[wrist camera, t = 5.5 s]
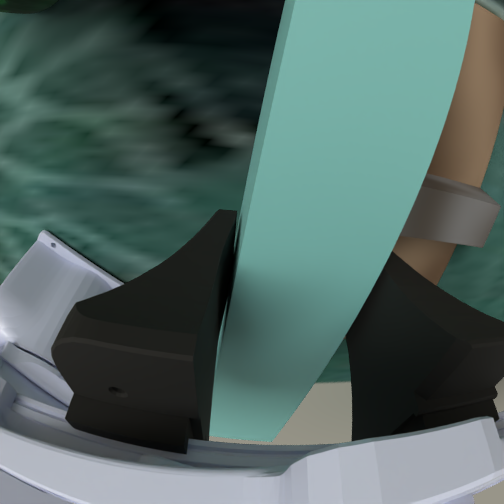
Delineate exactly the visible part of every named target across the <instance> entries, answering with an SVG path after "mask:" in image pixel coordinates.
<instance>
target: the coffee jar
mask: <svg viewBox="0 0 504 504" xmlns="http://www.w3.org/2000/svg"><path fill="white" fill-rule="evenodd" d="M57 1H58V0H0V12H8V13H22V14H32V13H37V12H40V11H43V10H45V9H47V8H49V7H50V6H52V5H53V4H55V3H56V2H57Z"/></svg>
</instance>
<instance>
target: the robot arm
mask: <svg viewBox="0 0 504 504" xmlns="http://www.w3.org/2000/svg"><path fill="white" fill-rule="evenodd" d="M236 217H237V211H232V210H220V209H219V210H218V211H217V212H216V213H215V214H214V215H213V216H212V218H211V219H210V220H209V221H208V222H207V223H206V224H205V226H204V227H203V228H202V229H201V230H200V231H199V232H198V233H197V234H196V235H195V236H194V237H193V238H192V239H191V240H190V241H188V242H187V243H186V244H185V245H184V246H183V247H182V248H181V249H179V250H178V251H177V252H176V253H175V254H173V255H172V256H171V257H169V258H168V259H167V260H165V261H164V262H162V263H161V264H159V265H158V266H156V267H154V268H153V269H151V270H149V271H147V272H146V273H144V274H142V275H141V276H139V277H137V278H135V279H133V280H131V281H129V282H127V283H125V284H124V283H122V282H121V281H119V280H117V279H116V278H114V277H113V276H111V275H110V274H108V273H107V272H105V271H104V270H102V269H101V268H99V267H98V266H96V265H95V264H93V263H92V262H90V261H89V260H87V259H86V258H84V257H83V256H81V255H80V254H78V253H77V252H76V251H74V250H73V249H71V248H70V247H68V246H67V245H66V244H64V243H63V242H61V241H60V240H59V239H57V238H56V237H55V236H53V235H52V234H50V233H49V232H48V231H46V230H43V231H42V232H41V233H40V234H39V237H38V240H37V241H36V242H35V243H34V244H33V246H32V247H31V248H30V249H29V250H28V252H27V253H26V254H25V255H24V256H23V258H22V259H21V260H20V261H19V262H18V264H17V265H16V266H15V267H14V269H13V270H12V271H11V273H10V274H9V275H8V276H7V278H6V279H5V280H4V282H3V283H2V284H1V286H0V504H73V503H74V504H474V499H473V495H474V494H477V493H479V492H481V491H483V490H485V489H487V488H489V487H491V486H493V485H495V484H497V483H499V482H501V481H503V480H504V411H502V412H499V413H498V412H497V410H496V407H495V404H494V401H493V399H495V398H496V397H497V394H498V393H497V391H496V389H495V385H496V384H497V383H498V382H499V381H500V380H501V379H502V378H503V377H504V322H503V321H500V320H498V319H496V318H493V317H491V316H488V315H486V314H484V313H482V312H480V311H478V310H476V309H474V308H472V307H470V306H469V305H467V304H465V303H463V302H461V301H460V300H458V299H456V298H455V297H453V296H452V295H450V294H448V293H447V292H445V291H444V290H442V289H440V288H439V287H437V286H436V285H435V284H433V283H432V282H430V281H429V280H428V279H426V278H425V277H423V276H422V275H421V274H419V273H418V272H417V271H416V270H414V269H413V268H412V267H411V266H410V265H408V264H407V263H406V262H405V261H403V260H402V259H401V258H400V257H399V256H398V255H396V254H395V253H394V252H393V251H392V252H391V254H390V256H389V258H388V260H387V262H386V263H385V265H384V267H383V269H382V271H381V273H380V275H379V277H378V279H377V281H376V283H375V284H374V286H373V288H372V290H371V292H370V294H369V295H368V297H367V299H366V301H365V303H364V304H363V306H362V308H361V310H360V311H359V313H358V315H357V317H356V318H355V320H354V322H353V323H352V325H351V327H350V329H349V330H348V332H347V334H346V335H345V336H346V341H347V346H348V352H349V362H350V372H351V386H352V441H351V442H345V443H339V444H322V445H255V444H237V443H224V442H213V441H209V432H210V419H211V408H212V397H213V386H214V376H215V366H216V357H217V347H218V340H219V334H220V329H221V325H222V320H223V316H224V311H225V307H226V303H227V298H228V293H229V286H230V280H231V273H232V265H233V257H234V244H235V231H236ZM54 243H55V244H56V245H55V244H54Z"/></svg>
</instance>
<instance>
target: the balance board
mask: <svg viewBox="0 0 504 504" xmlns="http://www.w3.org/2000/svg"><path fill="white" fill-rule="evenodd" d="M503 108H504V21H503V20H502V19H500V18H499V17H497V16H496V15H494V14H493V13H491V12H489V11H488V10H486V9H485V8H483V7H481V6H480V5H478V4H476V3H474V8H473V14H472V20H471V25H470V30H469V35H468V40H467V45H466V49H465V53H464V58H463V62H462V66H461V70H460V73H459V77H458V81H457V84H456V88H455V92H454V95H453V98H452V102H451V105H450V108H449V111H448V114H447V118H446V121H445V124H444V127H443V130H442V133H441V135H440V138H439V141H438V144H437V147H436V149H435V152H434V155H433V157H432V160H431V163H430V165H429V168H428V170H427V173H426V176H425V178H424V180H423V183H422V185H421V188H420V190H419V193H418V195H417V197H416V200H415V202H414V204H413V207H412V209H411V211H410V213H409V216H408V218H407V220H406V222H405V224H404V227H403V229H402V231H401V233H400V235H399V237H398V239H397V241H396V243H395V245H394V247H393V250H392V251H393V252H394V253H395V254H396V255H398V256H399V257H400V258H401V259H402V260H403V261H405V262H406V263H407V264H408V265H410V266H411V267H412V268H413V269H414V270H416V271H417V272H418V273H419V274H421V275H422V276H423V277H425V278H426V279H428V280H429V281H430V282H432V283H433V284H435V285H437V284H438V282H439V280H440V278H441V276H442V274H443V272H444V270H445V268H446V266H447V264H448V262H449V260H450V258H451V256H452V254H453V252H454V250H455V247H456V245H457V244H462V245H468V246H475V247H481V248H483V246H484V244H485V241H486V239H487V237H488V235H489V233H490V231H491V228H492V226H493V224H494V222H495V219H496V217H497V215H498V212H499V210H500V207H501V206H500V205H499V204H498V203H497V202H496V201H494V200H493V199H492V198H491V197H490V196H489V195H488V194H487V193H485V192H484V191H483V190H482V189H481V188H480V187H481V184H482V181H483V178H484V175H485V172H486V169H487V166H488V163H489V160H490V157H491V153H492V150H493V147H494V143H495V140H496V136H497V132H498V128H499V124H500V120H501V116H502V112H503ZM343 339H346V336H345V337H344V338H343Z"/></svg>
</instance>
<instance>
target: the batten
mask: <svg viewBox="0 0 504 504" xmlns="http://www.w3.org/2000/svg"><path fill="white" fill-rule="evenodd" d="M474 2H475V0H285V4H284V8H283V13H282V17H281V21H280V26H279V30H278V35H277V39H276V44H275V48H274V53H273V57H272V62H271V66H270V71H269V76H268V80H267V85H266V90H265V94H264V99H263V104H262V108H261V113H260V118H259V123H258V128H257V132H256V137H255V142H254V147H253V152H252V157H251V162H250V167H249V172H248V177H247V182H246V187H245V192H244V197H243V202H242V207H241V212H240V218H239V223H238V228H237V233H236V238H235V244H234V257H233V265H232V273H231V280H230V286H229V293H228V298H227V303H226V307H225V311H224V316H223V320H222V325H221V329H220V334H219V340H218V347H217V357H216V366H215V376H214V386H213V397H212V408H211V419H210V432H209V436H215V437H224V438H232V439H242V440H254V441H269V442H272V441H273V439H274V438H275V437H276V436H277V434H278V433H279V432H280V430H281V429H282V428H283V426H284V425H285V424H286V422H287V421H288V420H289V419H290V417H291V416H292V414H293V413H294V411H295V410H296V409H297V408H298V406H299V405H300V403H301V402H302V401H303V399H304V398H305V396H306V395H307V394H308V392H309V391H310V389H311V388H312V386H313V385H314V383H315V382H316V380H317V379H318V377H319V376H320V374H321V373H322V371H323V370H324V368H325V367H326V365H327V364H328V362H329V361H330V359H331V358H332V356H333V354H334V353H335V351H336V350H337V348H338V347H339V345H340V343H341V342H342V340H343V338H344V337H345V335H346V334H347V332H348V330H349V329H350V327H351V325H352V323H353V322H354V320H355V318H356V317H357V315H358V313H359V311H360V310H361V308H362V306H363V304H364V303H365V301H366V299H367V297H368V295H369V294H370V292H371V290H372V288H373V286H374V284H375V283H376V281H377V279H378V277H379V275H380V273H381V271H382V269H383V267H384V265H385V263H386V262H387V260H388V258H389V256H390V254H391V252H392V250H393V247H394V245H395V243H396V241H397V239H398V237H399V235H400V233H401V231H402V229H403V227H404V224H405V222H406V220H407V218H408V216H409V213H410V211H411V209H412V207H413V204H414V202H415V200H416V197H417V195H418V193H419V190H420V188H421V185H422V183H423V180H424V178H425V176H426V173H427V170H428V168H429V165H430V163H431V160H432V157H433V155H434V152H435V149H436V147H437V144H438V141H439V138H440V135H441V133H442V130H443V127H444V124H445V121H446V118H447V114H448V111H449V108H450V105H451V102H452V98H453V95H454V92H455V88H456V84H457V81H458V77H459V73H460V70H461V66H462V62H463V58H464V53H465V49H466V45H467V40H468V35H469V30H470V25H471V20H472V14H473V8H474Z"/></svg>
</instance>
